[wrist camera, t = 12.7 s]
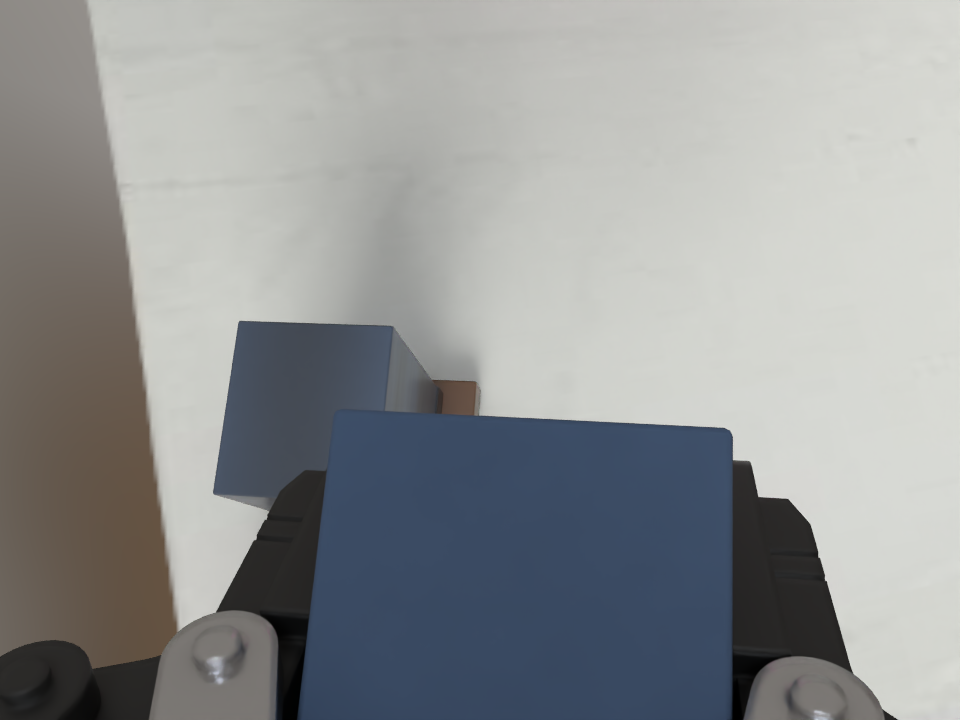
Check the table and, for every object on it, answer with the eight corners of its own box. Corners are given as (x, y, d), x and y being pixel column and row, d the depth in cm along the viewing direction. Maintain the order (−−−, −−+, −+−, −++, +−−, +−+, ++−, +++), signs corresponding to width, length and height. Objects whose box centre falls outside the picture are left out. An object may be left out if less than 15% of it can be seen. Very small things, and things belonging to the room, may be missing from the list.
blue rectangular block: (671, 505, 17) (739, 422, 9) (666, 782, 16) (739, 946, 8) (440, 491, 18) (328, 402, 10) (417, 757, 16) (268, 887, 9)
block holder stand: (480, 389, 33) (438, 309, 24) (457, 706, 30) (399, 748, 21) (303, 381, 34) (199, 301, 25) (263, 689, 31) (131, 722, 22)
